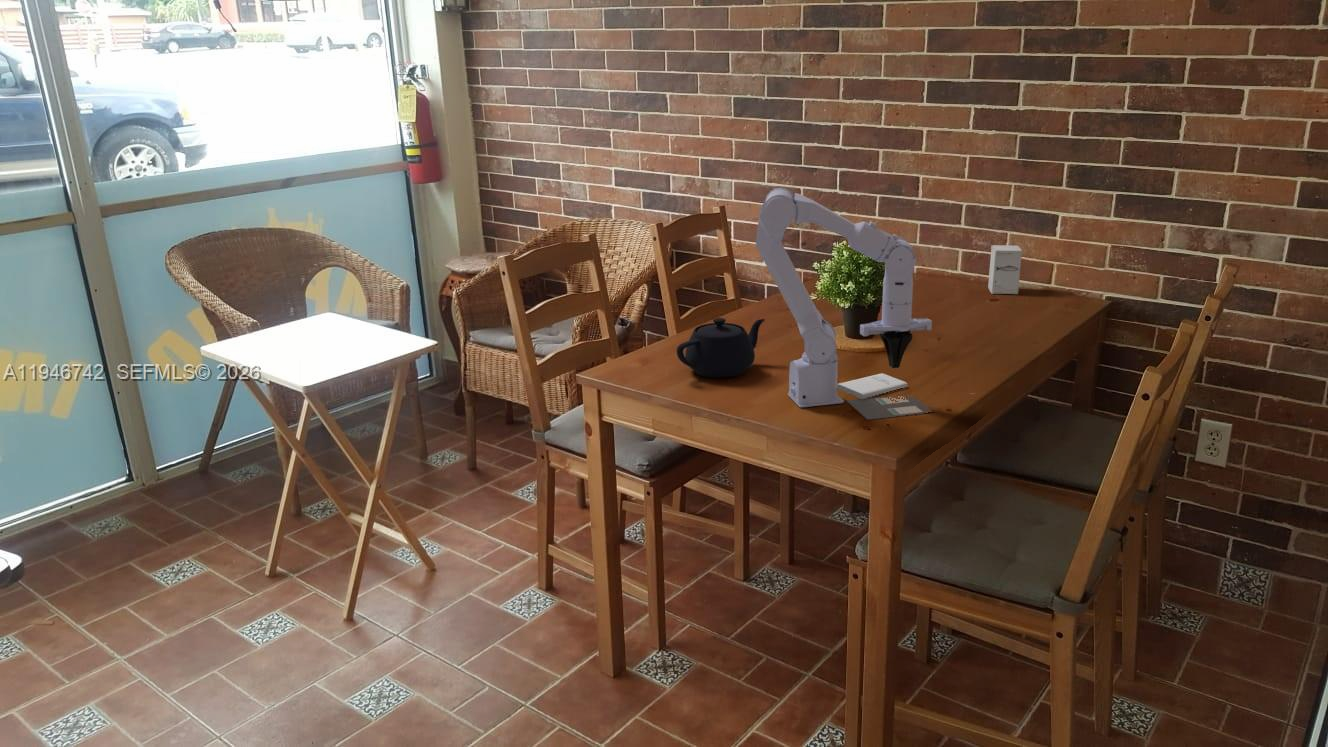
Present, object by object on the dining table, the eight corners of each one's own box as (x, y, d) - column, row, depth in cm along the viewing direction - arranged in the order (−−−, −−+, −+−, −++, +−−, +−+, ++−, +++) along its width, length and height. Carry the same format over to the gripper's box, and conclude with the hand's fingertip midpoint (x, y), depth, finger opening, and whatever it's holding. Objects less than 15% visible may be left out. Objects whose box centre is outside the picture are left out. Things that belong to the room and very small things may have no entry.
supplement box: (991, 294, 287) (994, 250, 283) (987, 287, 294) (991, 244, 290) (1018, 294, 285) (1022, 250, 281) (1014, 288, 292) (1018, 244, 288)
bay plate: (867, 419, 200) (867, 419, 200) (846, 400, 210) (846, 400, 210) (933, 412, 202) (933, 411, 202) (909, 394, 213) (909, 393, 213)
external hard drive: (836, 390, 218) (880, 379, 224) (862, 401, 211) (907, 389, 217) (836, 383, 217) (881, 372, 223) (862, 394, 210) (907, 382, 216)
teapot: (700, 391, 218) (699, 336, 214) (657, 373, 230) (656, 321, 226) (787, 367, 232) (788, 314, 228) (742, 351, 244) (742, 301, 240)
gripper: (870, 309, 197) (868, 376, 202) (940, 303, 200) (936, 369, 205) (856, 300, 204) (854, 365, 208) (924, 294, 207) (920, 358, 211)
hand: (894, 366), depth 207 cm, fingers closed
